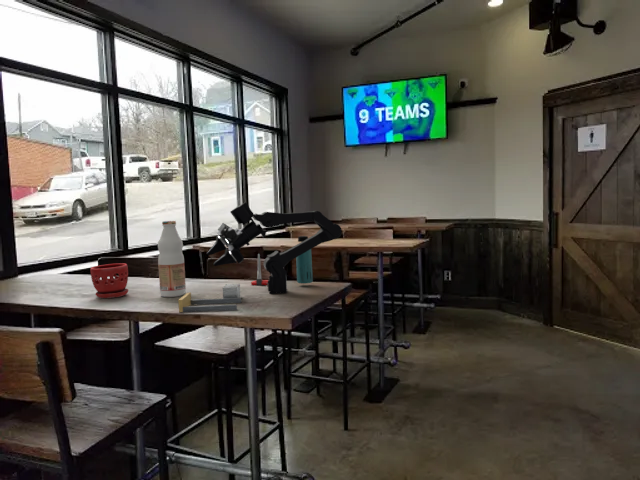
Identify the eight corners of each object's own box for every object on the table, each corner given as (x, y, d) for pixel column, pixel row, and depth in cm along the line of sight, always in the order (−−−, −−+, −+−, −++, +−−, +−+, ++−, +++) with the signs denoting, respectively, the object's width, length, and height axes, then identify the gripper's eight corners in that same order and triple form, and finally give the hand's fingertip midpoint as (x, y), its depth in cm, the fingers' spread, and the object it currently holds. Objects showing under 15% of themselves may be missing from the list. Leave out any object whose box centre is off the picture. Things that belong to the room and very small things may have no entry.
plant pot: (112, 292, 200) (110, 262, 199) (136, 294, 194) (135, 263, 193) (84, 298, 189) (82, 267, 188) (109, 300, 183) (107, 268, 182)
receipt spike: (255, 282, 215) (249, 285, 206) (254, 252, 215) (248, 254, 206) (274, 282, 214) (268, 285, 205) (273, 252, 214) (268, 254, 205)
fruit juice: (157, 297, 185) (152, 222, 183) (164, 293, 195) (159, 221, 193) (182, 296, 186) (178, 221, 183) (188, 292, 195) (184, 220, 193)
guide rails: (241, 302, 172) (240, 290, 172) (236, 309, 160) (235, 297, 160) (187, 304, 172) (187, 292, 172) (179, 312, 159) (178, 299, 159)
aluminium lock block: (240, 297, 182) (239, 283, 181) (237, 301, 175) (237, 287, 174) (226, 298, 182) (225, 284, 181) (223, 301, 175) (222, 287, 174)
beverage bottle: (307, 287, 196) (305, 236, 195) (293, 286, 200) (291, 236, 198) (316, 285, 202) (314, 235, 200) (302, 284, 205) (300, 235, 204)
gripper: (227, 209, 187) (192, 233, 185) (242, 227, 172) (204, 254, 170) (242, 231, 193) (208, 255, 191) (258, 250, 178) (222, 276, 176)
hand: (210, 259), depth 182 cm, fingers open, 9 cm apart
